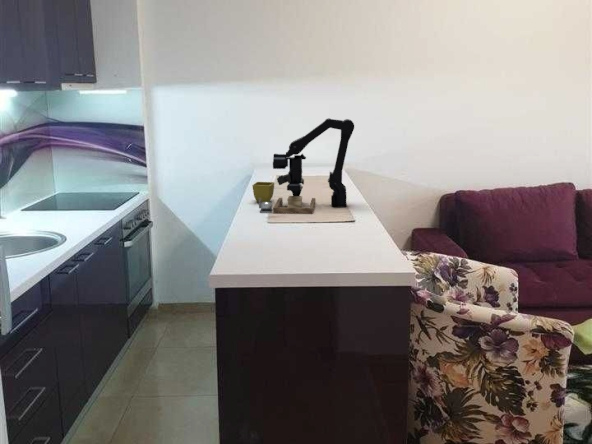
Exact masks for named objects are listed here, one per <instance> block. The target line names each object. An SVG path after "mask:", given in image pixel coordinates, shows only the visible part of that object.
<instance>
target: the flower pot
mask: <svg viewBox="0 0 592 444" xmlns="http://www.w3.org/2000/svg"><path fill="white" fill-rule="evenodd" d="M274 189H275V182H274V181H270V182H269V181H257V182H255V183H253V184H252V190H253V191H252V192H253V196H254V199H255V201H256V203H258V204H259V198H261V202H271V201H272V198H273V195H274V191H275V190H274Z"/></svg>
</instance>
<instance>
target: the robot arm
mask: <svg viewBox="0 0 592 444" xmlns="http://www.w3.org/2000/svg"><path fill="white" fill-rule="evenodd" d="M354 123H355V122H353V120H351V119H349V118H345V119H343V120H342V119H332V118H326V119H325V120H324V121H323V122H321V123H320V124H319V125H317V126H316V127H315V128H313V129H312V130H311V131H309V132H308V133H306V134H305V135H303V136H300V137H299V138H296V139H295V140H293V141H292V142H290V144H289V146H288V150H287V151H286V152H285V153H274V154H273V158H272V160H273V161H272V168H273V170H285V169H286V168H287V167H289V171H288V172H287V174H286V173H285V174H284V175H283V174H282V175H279V176H278V177H277V178H276V180H277V183H278V185H279V186H281V185H284V184H286V183H288V184H287V186H286V191H291V192H292V196H301V193H302V191H303V188H304V186H302V185H305V179H304V178H303V160H306V159H307V157H306V156H305V155H304V153H301V152H302V151H303V150H304V149H305V148H306V147H307V146H308V145H309V144H310V143H312V141H314V140H315V139H317V138H318V137H319V136H320V135H322V134H324V133H325V132H326V131H327V130H329V129H334V130H335V129H336V130H340V139H339V146H338V151H337V155H336V159H335V164H334V168H333V171H329V177H328V179H327V183H328V185H329V188H330V190H332V195H331V196H330V197H331V200H330V201H331V202H330V203H331V207H333V208H347V204H348V203H347V187H346V186H345V185H344V184H343V168H344V165H345V159H346V154H347V150H348V146H349V141H350V139H351V137H352V134H353V132H354V130H355V124H354ZM300 153H301V154H300ZM292 156H293V157H292Z"/></svg>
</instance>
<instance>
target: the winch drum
mask: <svg viewBox="0 0 592 444" xmlns="http://www.w3.org/2000/svg"><path fill="white" fill-rule="evenodd" d="M258 209H260V210H259V213H260V214H272V213H273V203H272V201H269V202H261V198H259V203H258Z"/></svg>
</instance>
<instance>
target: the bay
mask: <svg viewBox="0 0 592 444" xmlns="http://www.w3.org/2000/svg"><path fill="white" fill-rule="evenodd" d="M282 205H283V197H278V199H277V200H276V203H275V204H274V206H272V209H273V211H272V213H273V214H286V213H287V214H289V215H290V214H295V215H297V214H299V215H300V214H301V215H302V214H303V215H305V214H306V215H307V214H308V215H309V214H311V215H313V213H314V209H315V207H316V197H311V200H310V203H309V207H302V208H288V207H281V206H282Z"/></svg>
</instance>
